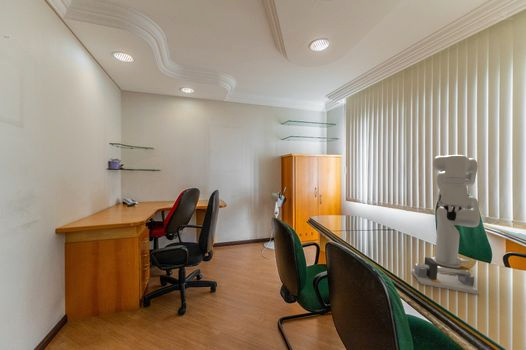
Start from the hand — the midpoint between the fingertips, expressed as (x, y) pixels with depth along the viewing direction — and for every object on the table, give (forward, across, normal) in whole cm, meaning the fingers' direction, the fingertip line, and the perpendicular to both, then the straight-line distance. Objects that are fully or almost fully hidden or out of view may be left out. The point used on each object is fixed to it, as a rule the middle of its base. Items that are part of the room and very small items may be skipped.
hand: (451, 220), depth 103 cm
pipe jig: (+27, +5, +8) cm, 29 cm away
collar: (+25, +10, +8) cm, 28 cm away
